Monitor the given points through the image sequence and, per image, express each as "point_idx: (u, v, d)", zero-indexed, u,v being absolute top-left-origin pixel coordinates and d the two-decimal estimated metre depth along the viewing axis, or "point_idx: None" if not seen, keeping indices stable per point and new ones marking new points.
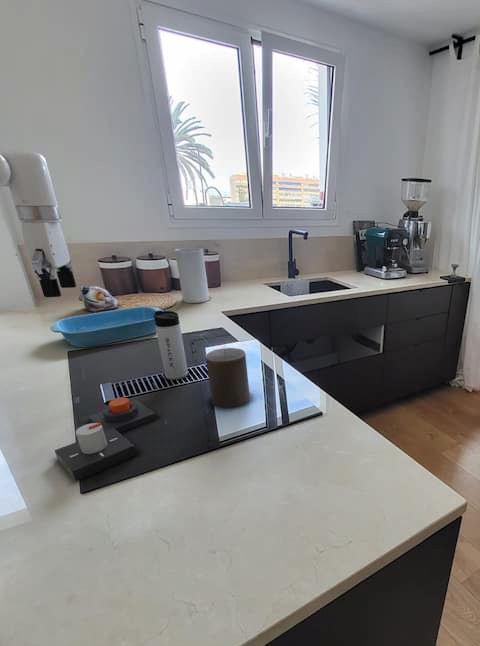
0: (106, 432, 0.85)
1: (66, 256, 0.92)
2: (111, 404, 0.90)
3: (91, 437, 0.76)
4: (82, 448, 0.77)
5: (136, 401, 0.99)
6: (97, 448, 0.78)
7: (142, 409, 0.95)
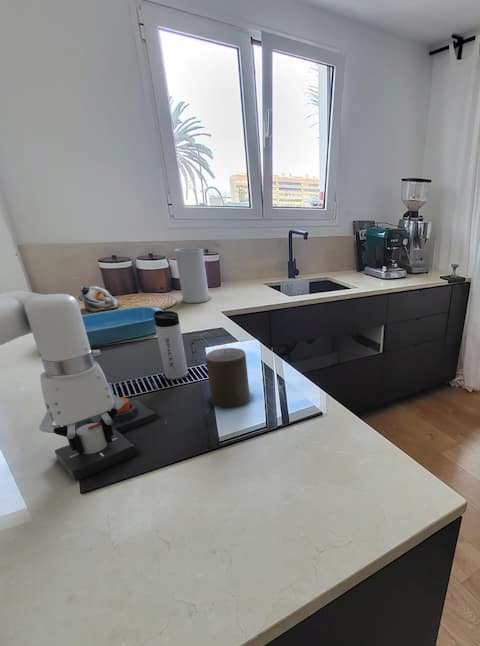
0: None
1: (99, 406, 0.76)
2: None
3: (91, 437, 0.76)
4: None
5: (136, 401, 0.99)
6: (97, 448, 0.78)
7: (142, 409, 0.95)
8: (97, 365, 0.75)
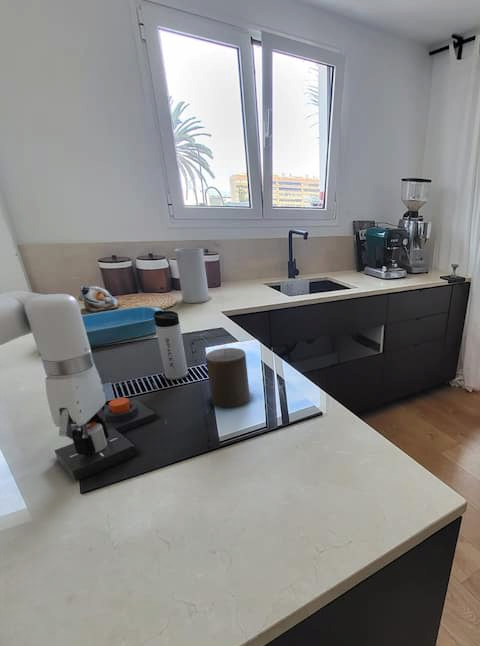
0: None
1: (100, 401, 0.78)
2: (111, 404, 0.90)
3: (99, 433, 0.78)
4: None
5: (136, 401, 0.99)
6: (104, 444, 0.79)
7: (142, 409, 0.95)
8: None
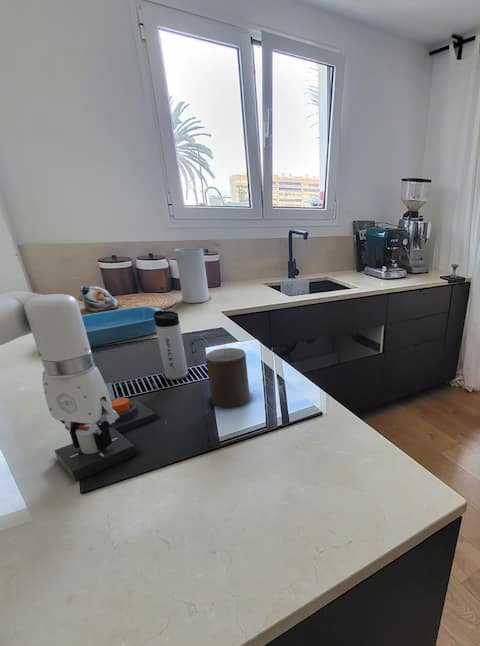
0: None
1: None
2: None
3: None
4: None
5: (136, 401, 0.99)
6: None
7: (142, 409, 0.95)
8: None
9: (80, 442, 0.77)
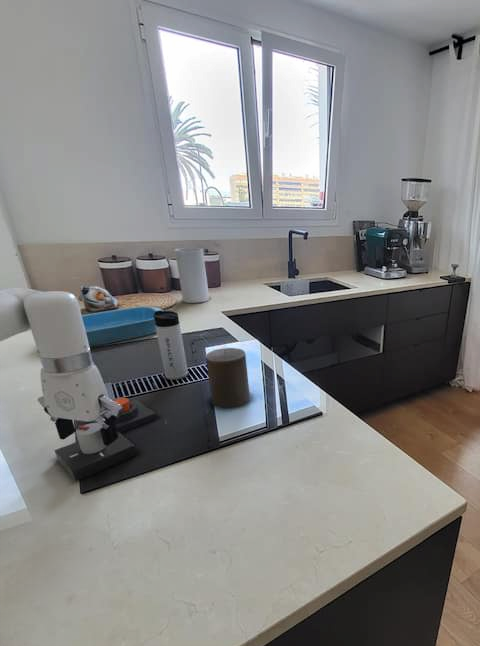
0: None
1: None
2: None
3: None
4: None
5: (136, 401, 0.99)
6: None
7: (142, 409, 0.95)
8: None
9: (80, 442, 0.77)
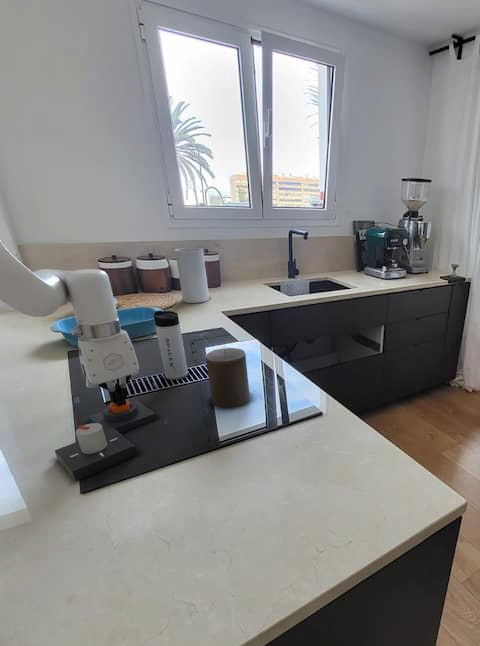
0: (106, 432, 0.85)
1: None
2: (111, 406, 0.90)
3: None
4: (104, 441, 0.79)
5: (136, 401, 0.99)
6: None
7: (142, 409, 0.95)
8: (79, 338, 0.83)
9: (80, 442, 0.77)
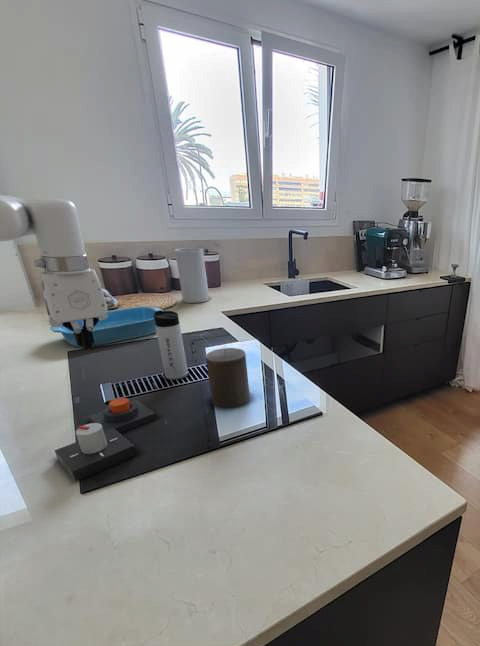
0: (106, 432, 0.85)
1: None
2: (111, 404, 0.90)
3: None
4: (104, 441, 0.79)
5: (136, 401, 0.99)
6: None
7: (142, 409, 0.95)
8: (43, 272, 0.79)
9: (80, 442, 0.77)
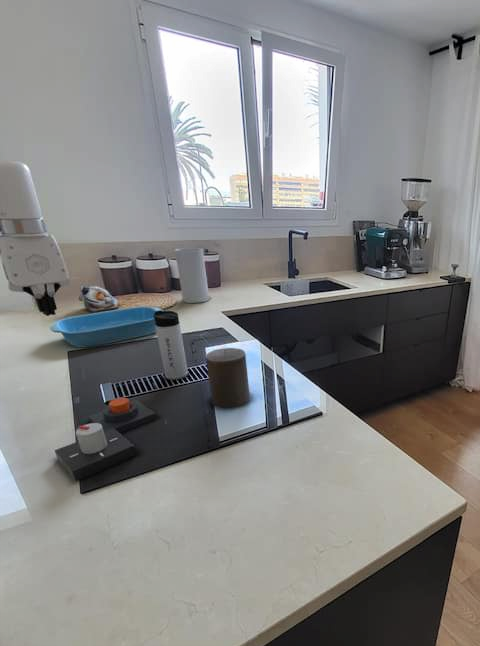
0: (106, 432, 0.85)
1: None
2: (111, 404, 0.90)
3: None
4: (104, 441, 0.79)
5: (136, 401, 0.99)
6: None
7: (142, 409, 0.95)
8: None
9: (80, 442, 0.77)
